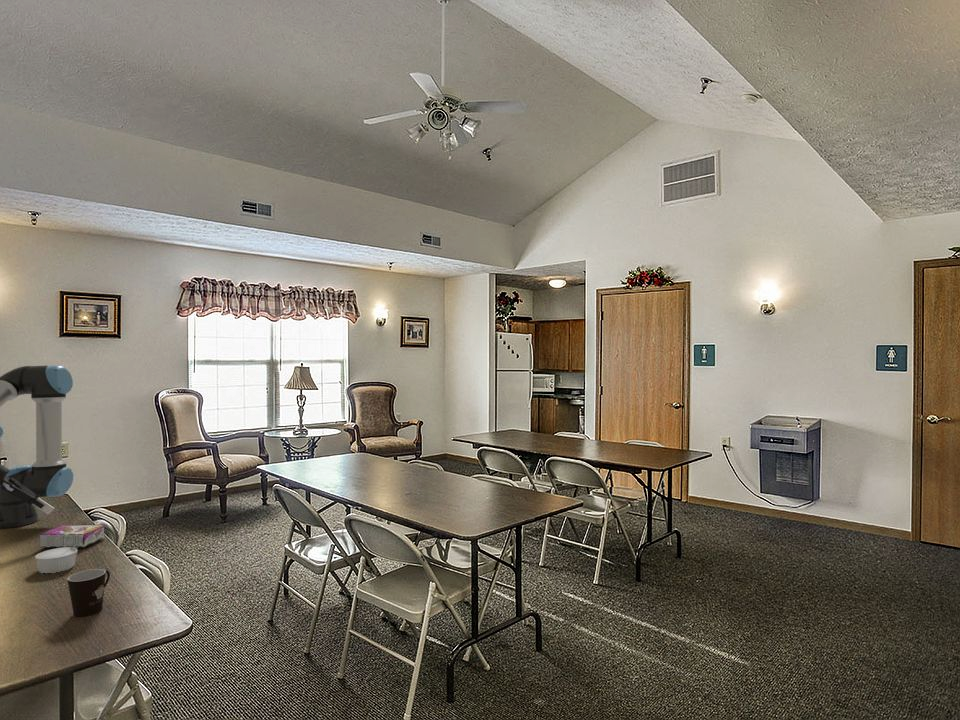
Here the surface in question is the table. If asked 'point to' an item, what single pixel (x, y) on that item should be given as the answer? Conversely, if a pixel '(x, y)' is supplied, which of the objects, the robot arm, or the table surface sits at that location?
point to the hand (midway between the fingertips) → (51, 511)
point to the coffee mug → (87, 591)
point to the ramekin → (56, 560)
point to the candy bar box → (72, 536)
